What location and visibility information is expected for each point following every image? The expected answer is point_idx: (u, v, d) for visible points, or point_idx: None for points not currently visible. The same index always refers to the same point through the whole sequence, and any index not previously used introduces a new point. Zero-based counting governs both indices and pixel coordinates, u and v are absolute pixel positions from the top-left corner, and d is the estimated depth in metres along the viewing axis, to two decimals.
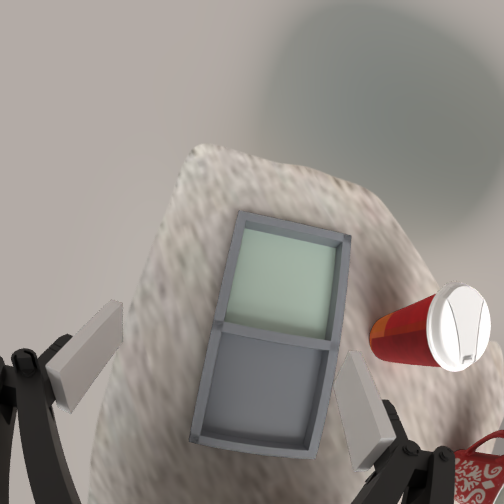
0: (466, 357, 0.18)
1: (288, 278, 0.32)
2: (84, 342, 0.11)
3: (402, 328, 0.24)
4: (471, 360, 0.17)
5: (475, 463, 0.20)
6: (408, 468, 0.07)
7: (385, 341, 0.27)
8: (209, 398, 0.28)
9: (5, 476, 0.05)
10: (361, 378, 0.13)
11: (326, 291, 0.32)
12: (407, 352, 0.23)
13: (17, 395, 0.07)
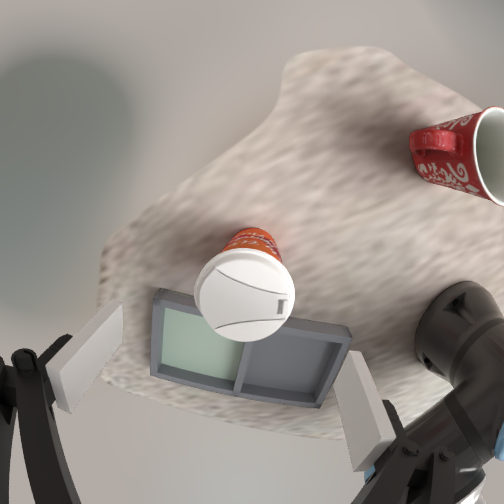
0: (280, 299, 0.22)
1: (196, 340, 0.38)
2: (84, 342, 0.11)
3: None
4: (285, 301, 0.21)
5: (437, 165, 0.25)
6: (408, 468, 0.07)
7: None
8: (290, 390, 0.40)
9: (5, 477, 0.05)
10: (361, 378, 0.13)
11: None
12: None
13: (17, 395, 0.07)
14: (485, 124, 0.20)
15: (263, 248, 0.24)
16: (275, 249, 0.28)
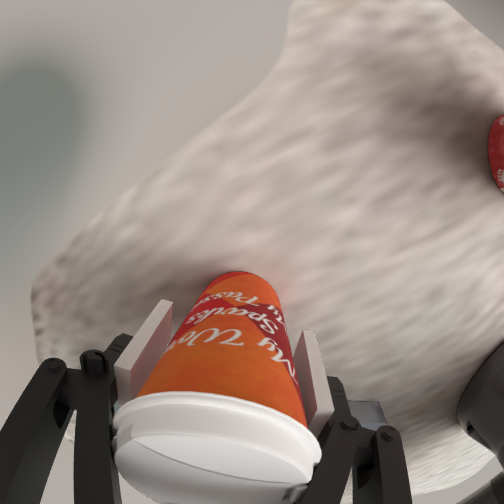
0: None
1: None
2: (147, 340, 0.13)
3: None
4: (301, 488, 0.07)
5: None
6: (350, 443, 0.09)
7: None
8: None
9: (44, 478, 0.06)
10: (309, 354, 0.14)
11: None
12: None
13: (80, 394, 0.08)
14: None
15: (253, 360, 0.10)
16: (279, 334, 0.13)
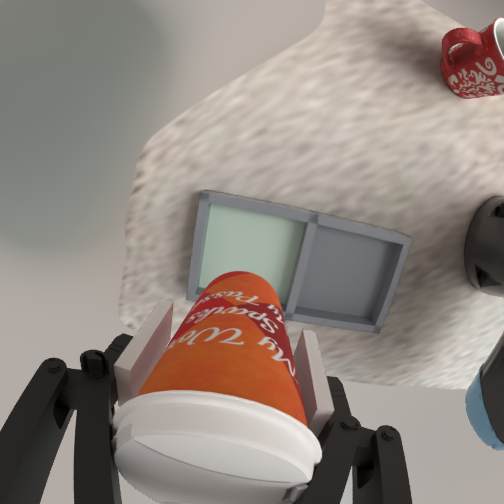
0: None
1: (244, 250, 0.35)
2: (147, 340, 0.13)
3: None
4: (301, 488, 0.07)
5: (467, 69, 0.22)
6: (350, 443, 0.09)
7: None
8: (345, 313, 0.37)
9: (44, 478, 0.06)
10: (309, 354, 0.14)
11: (256, 213, 0.34)
12: None
13: (80, 394, 0.08)
14: (499, 39, 0.17)
15: (254, 359, 0.10)
16: (279, 334, 0.13)
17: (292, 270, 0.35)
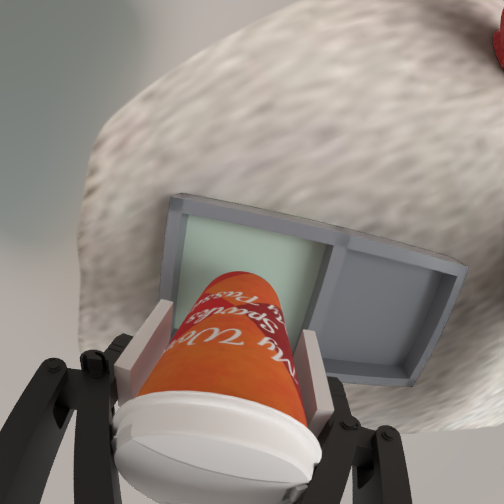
0: None
1: None
2: (147, 340, 0.13)
3: None
4: (301, 488, 0.07)
5: None
6: (350, 443, 0.09)
7: None
8: (372, 362, 0.26)
9: (44, 478, 0.06)
10: (309, 354, 0.14)
11: (256, 229, 0.23)
12: None
13: (80, 394, 0.08)
14: None
15: (254, 359, 0.10)
16: (279, 334, 0.13)
17: (305, 310, 0.24)
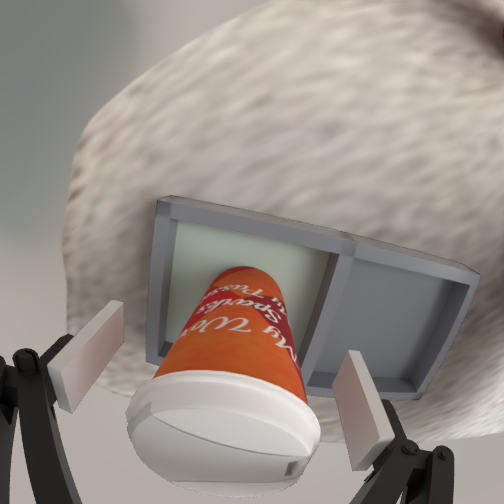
0: None
1: None
2: (85, 342, 0.11)
3: None
4: (302, 463, 0.08)
5: None
6: (407, 467, 0.07)
7: None
8: (377, 376, 0.24)
9: (6, 476, 0.05)
10: (360, 377, 0.13)
11: (252, 236, 0.20)
12: None
13: (18, 395, 0.07)
14: None
15: (260, 345, 0.11)
16: (282, 324, 0.15)
17: (307, 323, 0.22)
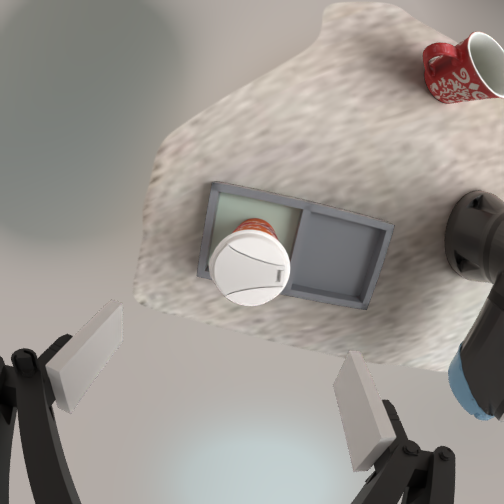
0: (279, 270, 0.28)
1: None
2: (84, 342, 0.11)
3: None
4: (282, 271, 0.27)
5: (446, 78, 0.27)
6: (408, 468, 0.07)
7: None
8: (336, 291, 0.42)
9: (6, 476, 0.05)
10: (361, 378, 0.13)
11: (259, 202, 0.39)
12: None
13: (17, 395, 0.07)
14: (477, 50, 0.22)
15: (264, 231, 0.30)
16: (274, 234, 0.33)
17: (289, 251, 0.41)
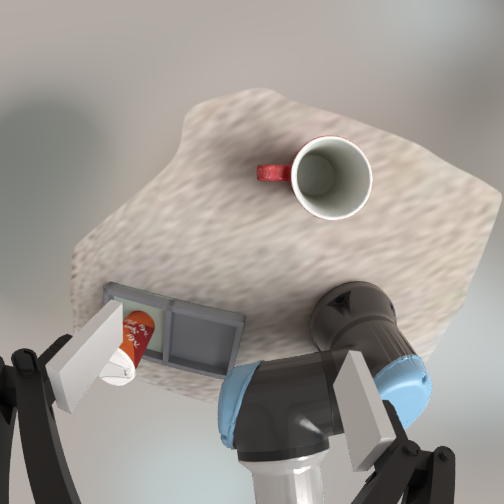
0: None
1: None
2: (84, 342, 0.11)
3: None
4: (126, 370, 0.37)
5: None
6: (408, 468, 0.07)
7: None
8: (208, 364, 0.52)
9: (5, 476, 0.05)
10: (361, 378, 0.13)
11: None
12: None
13: (17, 395, 0.07)
14: (334, 148, 0.32)
15: None
16: (137, 334, 0.43)
17: None
